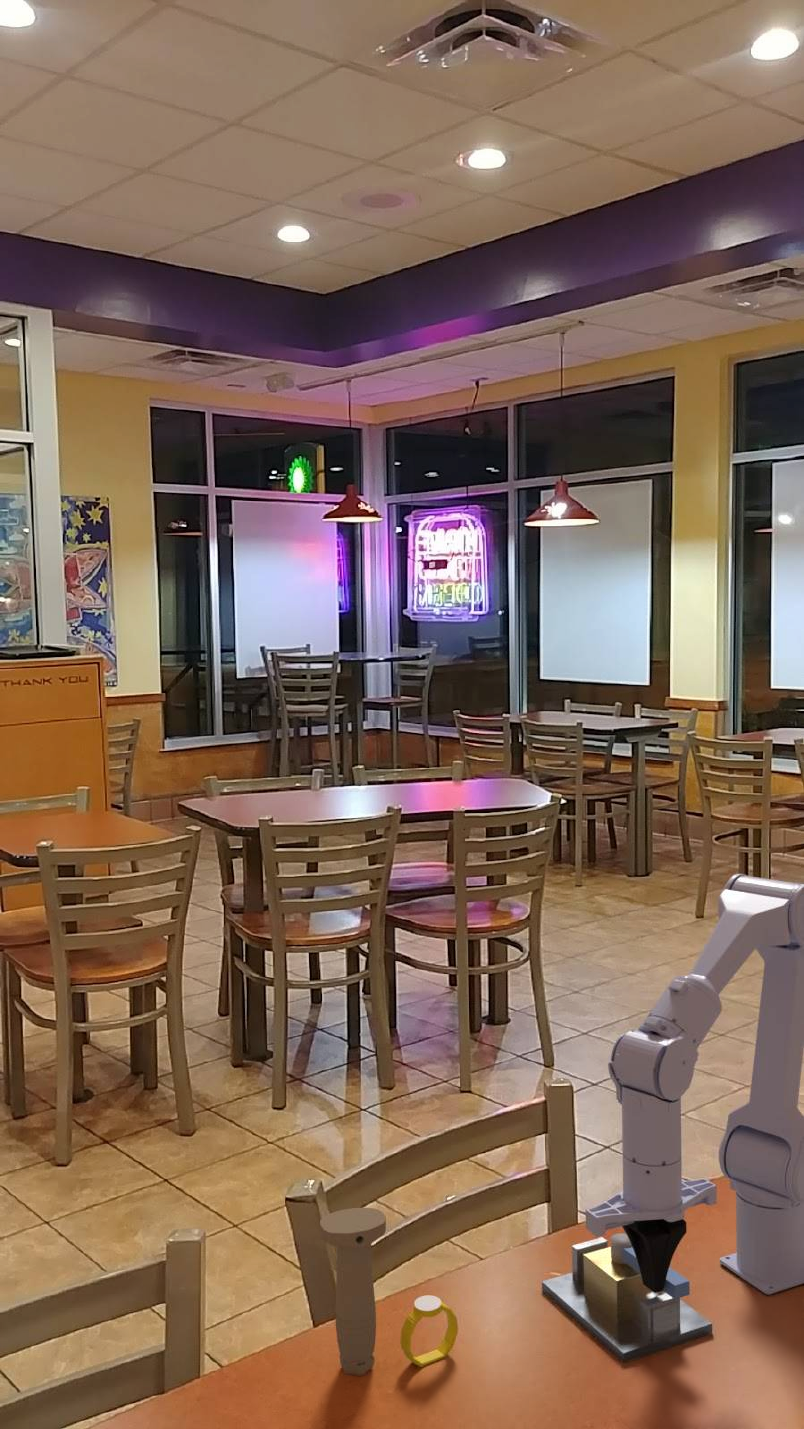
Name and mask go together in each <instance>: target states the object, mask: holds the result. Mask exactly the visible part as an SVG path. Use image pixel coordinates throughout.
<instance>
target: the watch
mask: <svg viewBox="0 0 804 1429" xmlns="http://www.w3.org/2000/svg"><path fill="white" fill-rule="evenodd" d="M413 1307H414V1308H413V1309H412V1311H411V1312H410V1313H409V1314H408V1315H407V1317H406V1318H405V1321H404V1323H403V1325H402V1328H401V1331H400V1347H401V1349H402V1351H403V1354H404V1356H405V1357H406V1359H408V1360H409V1361H410V1362H412V1363H413V1364H414V1365H416V1366H418V1367H419V1368H425V1366H427V1365H429V1364H432V1363H435V1362H437V1361H439V1360H442V1359H445V1358H446V1357H447V1356H448V1354H449V1353H450V1352H451V1350H452V1349H453V1347H454V1345H455V1343H456V1339H457V1336H458V1331H459V1329H458V1319H457V1316H456V1314H455V1313H454V1312H453V1310H452V1309H451V1308H450V1307H449V1306H447V1305H446V1304H445V1303H444V1302H442V1300H441V1299H440V1297H438V1296H436V1295H429V1294H428V1295H422V1296H419V1297H417V1298H416V1299H415V1300H414V1303H413ZM442 1311H444V1312H445V1314H446V1317H447V1318H446V1319H447V1328H446V1332H445V1336H444V1339H443V1340H442V1341H441V1343H440V1344H439V1345H438V1347H437V1349H434V1350H432V1351H428V1352H427V1353H424V1354H421V1355H418V1356H414V1354H413V1352H412V1350H411V1345H412V1344H411V1343H412V1342H411V1340H412V1335H413V1332H414V1330H415V1328H416V1325H417V1324H418V1323H419V1321H421V1319H423V1318H431V1317H436V1316H438V1315H439V1314H440V1313H442Z"/></svg>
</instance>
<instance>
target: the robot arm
mask: <svg viewBox="0 0 804 1429" xmlns="http://www.w3.org/2000/svg"><path fill="white" fill-rule="evenodd" d="M717 913H718V922H717V923H716V926H715V928H713V931H712V932H711V935H710V936H709V938H708V940H707V942H706V944H705V945H704V948H703V949H702V951H701V952H700V955H699V956H698V958H697V960H696V961H695V963H694V966H693V967H692V969H691V971H690V973H689V974H685V975H684V974H683V975H676V976H674V977H673V979H672V980H671V981H670V982H669V984H668V985H667V986H666V988H665V990H664V991H663V992H662V994H661V995H660V997H659V998H658V1000H657V1001H656V1002H655V1004H654V1005H653V1007H652V1009H651V1010H650V1011H649V1012H648V1014H647V1015H646V1017H645V1019H644V1020H643V1021H642V1022H641V1024H640V1026H638V1028H637V1029H631V1031H630V1030H629V1031H628V1032H626V1033H623V1034H621V1035H620V1036H619V1037H618V1038H617V1039H616V1042H615V1043H614V1045H613V1047H612V1049H611V1056H610V1061H609V1062H608V1063H607V1069H608V1073H609V1077H610V1079H611V1081H612V1083H613V1084H614V1086H615V1091H616V1095H615V1096H616V1100H618V1102H617V1103H619V1105H621V1129H622V1130H621V1136H622V1137H621V1138H622V1141H621V1142H622V1145H621V1146H622V1149H621V1150H622V1151H621V1152H622V1190H621V1191H620V1192H618V1193H616V1194H614V1195H613V1196H611V1197H610V1198H608V1199H606V1200H605V1201H603V1202H601V1203H598V1204H597V1205H595V1206H593V1207H589V1208H587V1209H585V1229H586V1230H587V1231H589V1232H590V1233H591V1234H593V1235H594V1236H595V1237H597V1238H600V1237H602V1236H605V1235H606V1232H607V1231H608V1230H612V1229H617V1228H619V1227H620V1228H621V1227H622V1229H623V1230H624V1233H625V1234H627V1236H628V1238H629V1240H630V1242H631V1245H632V1247H633V1249H634V1252H635V1255H636V1258H637V1261H638V1265H639V1268H640V1272H641V1277H642V1281H643V1284H644V1285H645V1286H646V1287H648V1288H649V1289H650V1290H651V1291H653V1292H654V1293H657V1292H660V1291H663V1288H664V1285H665V1281H666V1277H667V1273H668V1269H669V1267H670V1266H671V1263H672V1259H673V1256H674V1254H675V1252H676V1250H677V1248H678V1246H679V1244H680V1242H681V1240H682V1239H683V1238H684V1236H685V1235H686V1234H687V1221H686V1220H685V1211H686V1210H688V1209H689V1208H692V1207H696V1206H700V1205H703V1204H705V1205H707V1206H708V1207H709V1206H713V1205H717V1204H718V1203H717V1202H718V1199H717V1193H718V1192H717V1190H718V1189H717V1185H716V1184H715V1183H713V1182H711V1181H710V1180H709V1179H707V1178H705V1177H702V1178H698V1179H693V1180H683V1181H682V1179H683V1178H682V1174H683V1173H682V1170H683V1169H682V1163H683V1162H682V1097H683V1096H684V1094H685V1093H686V1092H687V1091H688V1089H689V1088H690V1087H691V1083H692V1080H693V1078H694V1073H695V1066H696V1064H697V1061H698V1059H699V1058H698V1057H699V1052H698V1048H699V1047H700V1045H701V1044H702V1043H703V1041H704V1039H706V1036H707V1034H708V1033H709V1032H710V1030H711V1029H712V1027H713V1026H714V1024H715V1022H716V1021H717V1019H718V1017H719V1016H720V1015H721V1013H722V1009H723V1007H722V1002H721V999H720V996H719V995H720V993H721V992H722V991H723V990H724V988H726V986H727V985H728V984H729V982H730V981H731V980H732V978H733V977H734V976H735V975H736V973H738V971H739V970H740V969H741V968H742V966H743V965H744V964H745V962H747V960H748V959H749V958H750V956H751V955H752V954H753V952H754V951H755V950H756V951H757V953H758V954H759V956H760V957H761V958H762V960H763V964H764V965H763V967H764V968H763V974H762V982H761V991H760V992H761V993H760V994H761V995H760V1002H759V1011H758V1012H759V1013H758V1020H757V1029H756V1036H755V1037H756V1039H755V1045H754V1046H755V1047H754V1048H755V1049H754V1054H753V1055H754V1058H753V1064H752V1066H753V1067H752V1072H751V1073H752V1074H751V1084H750V1092H749V1100H748V1101H747V1102H746V1103H744V1104H743V1105H740V1106H739V1107H737V1108H734V1110H732V1111H731V1112H729V1113H728V1115H727V1116H728V1118H727V1123H726V1127H725V1131H724V1134H723V1135H722V1138H721V1140H720V1142H719V1148H718V1164H719V1166H720V1167H719V1168H720V1170H721V1173H722V1174H723V1175H724V1177H726V1178H727V1179H729V1188H730V1190H733V1191H735V1221H736V1222H735V1224H736V1225H735V1227H736V1228H735V1229H736V1230H735V1232H736V1235H735V1236H736V1237H735V1238H736V1239H735V1240H736V1242H735V1243H736V1246H735V1247H736V1252H734V1253H731V1254H728V1255H725V1256H721V1257H719V1263H720V1264H721V1265H723V1266H724V1267H726V1268H727V1269H729V1270H730V1271H732V1272H733V1273H734V1274H736V1275H737V1276H739V1277H740V1278H741V1279H743V1280H744V1281H746V1282H748V1284H750V1285H752V1286H753V1287H754V1288H756V1289H758V1290H759V1291H761V1292H762V1293H764V1294H765V1295H772V1294H775V1293H778V1292H781V1291H784V1290H788V1289H790V1288H793V1287H796V1286H799V1285H802V1284H804V1114H803V1113H802V1112H801V1110H800V1109H799V1108H798V1107H799V1096H800V1089H801V1088H800V1087H801V1077H802V1069H803V1068H802V1067H803V1061H804V1059H803V1058H804V883H797V882H790V881H783V880H776V879H771V878H763V877H757V876H750V875H747V874H744V873H736V874H734V875H732V876H731V877H730V878H729V879H728V881H727V882H726V884H725V885H724V887H723V889H722V892H721V893H720V894H719V896H718V904H717Z"/></svg>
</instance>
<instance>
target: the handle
mask: <svg viewBox="0 0 804 1429" xmlns="http://www.w3.org/2000/svg"><path fill="white" fill-rule="evenodd" d="M386 1221H387V1220H386V1215H385V1214H384V1212H383V1211H381V1210H380V1209H378V1208H375V1207H352V1208H345V1209H341V1210H337V1211H334V1212H332V1213H329V1214H326V1215H324V1216H322V1217H321V1218H320V1221H319V1227H320V1228H319V1231H320V1237H321V1238H322V1240H323V1241H324V1242H326V1243H327V1244H329V1245H331V1246H333V1247H335V1249H336V1250H335V1251H336V1285H335V1288H336V1289H335V1311H334V1312H335V1313H334V1314H335V1330H336V1331H335V1332H336V1338H337V1339H336V1340H337V1341H336V1342H337V1346H338V1351H339V1361H340V1366H341V1368H343V1372H344V1373H345V1374H346V1375H356V1376H357V1377H359V1376H360V1377H361V1376H364V1375H365V1373H367V1372H368V1371H370V1370H373V1368H374V1364H375V1363H374V1362H375V1355H374V1352H375V1346H376V1336H377V1308H376V1299H375V1298H376V1297H375V1287H374V1276H373V1267H372V1266H373V1264H372V1244H373V1242H375V1241H376V1240H379V1238H381V1237H382V1236H384V1235H385V1234H386V1231H387V1222H386Z"/></svg>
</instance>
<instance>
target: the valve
mask: <svg viewBox="0 0 804 1429" xmlns="http://www.w3.org/2000/svg"><path fill="white" fill-rule="evenodd" d="M571 1265H572V1266H571V1267H572V1269H571V1270H572V1271H571V1272H569V1273H566V1274H562V1275H559V1276H557V1277H552V1278H548V1279H545V1280H542V1281H541V1290H542V1292H543V1293H544V1294H546V1295H547V1297H549V1298H550V1299H551V1300H552V1301H554V1303H556V1304H557V1305H558V1306H559V1307H560V1308H561V1309H562V1310H564V1311H565V1313H567V1314H568V1315H569V1316H570V1317H571V1318H573V1319H574V1321H576V1322H577V1323H578V1324H579V1326H581V1327H582V1328H584V1329H585V1331H587V1332H588V1333H589V1334H590V1335H591V1336H592V1337H594V1338H595V1339H596V1341H598V1342H599V1343H600V1344H601V1345H603V1346H604V1347H605V1348H606V1349H607V1350H609V1351H610V1353H611V1354H613V1355H614V1356H615V1357H616V1358H617V1359H619V1361H621V1363H623V1364H624V1363H628V1362H631V1361H634V1360H637V1359H640V1358H643V1357H645V1356H648V1355H652V1354H654V1353H657V1352H660V1351H662V1350H666V1349H669V1348H671V1347H675V1346H678V1345H681V1344H683V1343H687V1342H690V1341H693V1340H696V1339H698V1338H701V1337H704V1336H707V1335H710V1334H713V1323H712V1322H711V1321H710V1320H708V1318H706V1317H704V1316H703V1315H702V1314H700V1313H699V1312H698V1311H697V1310H695V1309H694V1308H693V1307H691V1305H688V1304H687V1303H686V1302H685V1301H683V1300H682V1299H681V1298H678V1299H674V1298H672V1297H671V1296H670V1295H668V1294H667V1293H666V1292H664V1291H660V1292H657V1293H654V1292H653V1291H651V1290H650V1289H649V1288H648V1287H646V1286H645V1285H644V1284H643V1281H642V1277H641V1274H640V1273H639V1272H637V1271H636V1270H634V1269H633V1268H632V1267H630V1266H629V1265H628V1264H620V1263H616V1262H614V1261H613V1260H612V1259H611V1246H608V1240H607V1239H605V1237H602V1236H600V1237H597V1238H595V1239H591V1240H587V1241H584V1242H581V1243H577V1244H573V1245H571Z"/></svg>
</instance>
